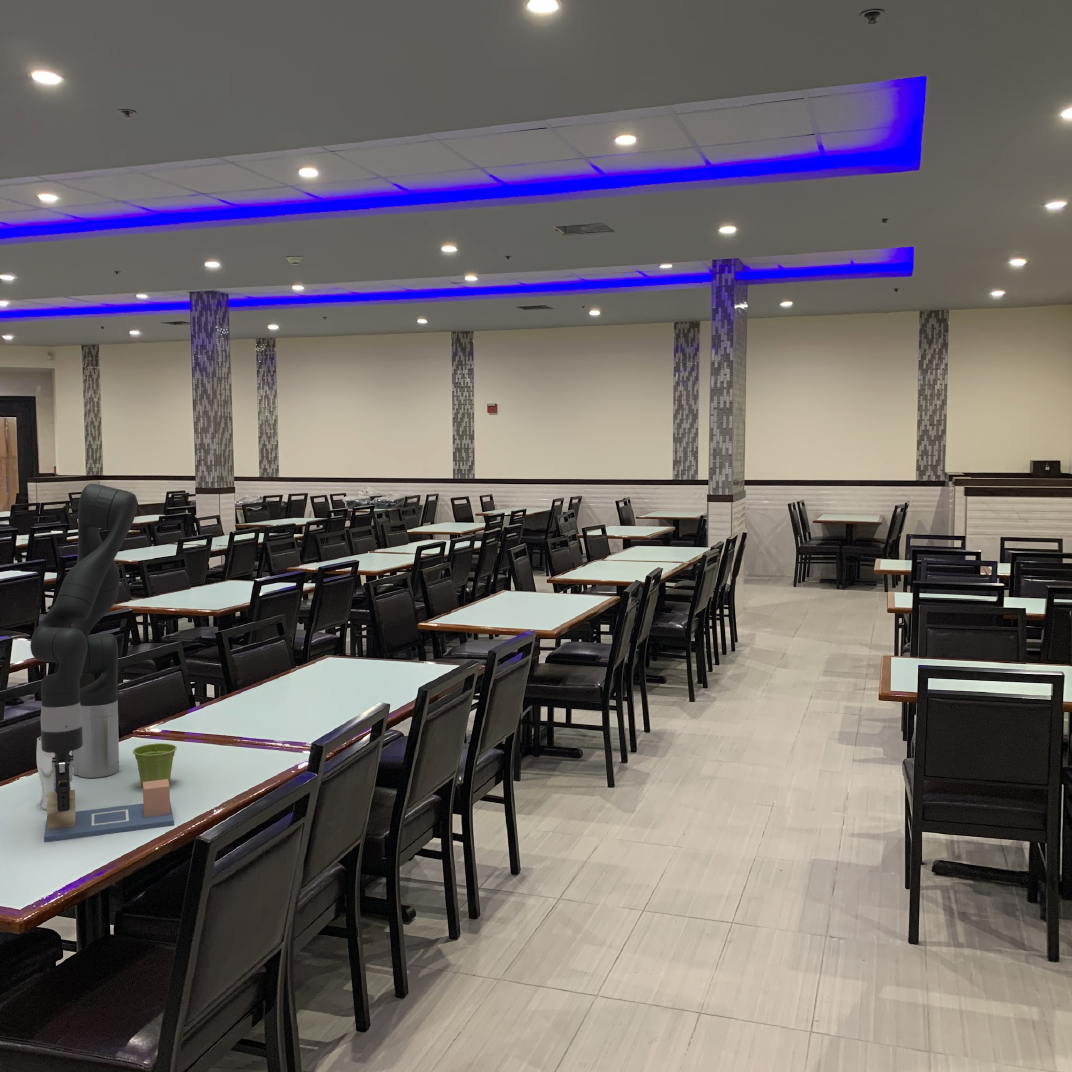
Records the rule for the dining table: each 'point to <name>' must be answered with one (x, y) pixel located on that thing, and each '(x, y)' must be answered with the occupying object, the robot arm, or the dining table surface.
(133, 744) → the dining table surface
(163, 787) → the terracotta block
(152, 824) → the board
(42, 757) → the beer glass
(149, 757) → the plant pot
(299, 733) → the dining table surface
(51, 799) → the maple block
